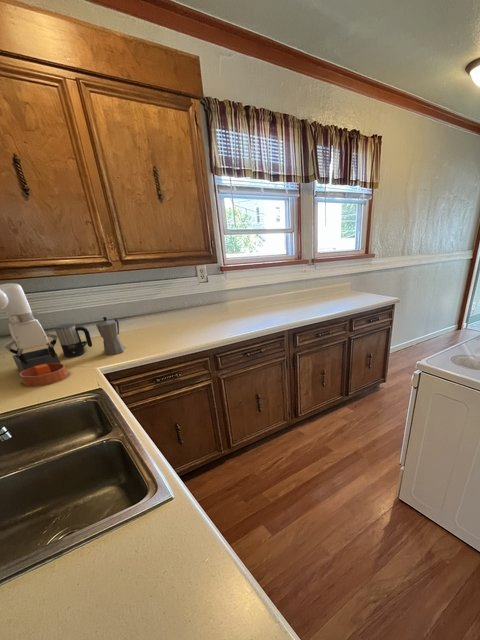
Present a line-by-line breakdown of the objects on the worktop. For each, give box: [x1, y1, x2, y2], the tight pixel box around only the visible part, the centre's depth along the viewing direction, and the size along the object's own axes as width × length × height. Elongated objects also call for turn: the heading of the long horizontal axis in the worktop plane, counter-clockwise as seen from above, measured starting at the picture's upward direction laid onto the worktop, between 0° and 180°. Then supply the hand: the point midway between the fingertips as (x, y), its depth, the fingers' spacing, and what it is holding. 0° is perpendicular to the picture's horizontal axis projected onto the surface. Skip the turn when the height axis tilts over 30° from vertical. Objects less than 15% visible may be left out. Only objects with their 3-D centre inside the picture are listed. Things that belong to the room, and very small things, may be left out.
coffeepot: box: [95, 316, 125, 356], centre depth 165 cm, size 15×9×18 cm, turn 174°
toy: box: [34, 364, 51, 376], centre depth 134 cm, size 4×4×6 cm
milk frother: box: [52, 323, 93, 358], centre depth 166 cm, size 14×16×15 cm
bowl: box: [19, 362, 69, 387], centre depth 135 cm, size 15×15×5 cm
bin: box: [12, 347, 61, 373], centre depth 145 cm, size 13×13×8 cm
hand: (39, 360), depth 132 cm, fingers open, 9 cm apart
